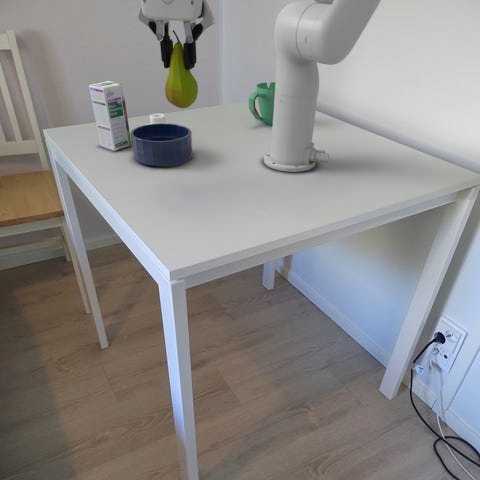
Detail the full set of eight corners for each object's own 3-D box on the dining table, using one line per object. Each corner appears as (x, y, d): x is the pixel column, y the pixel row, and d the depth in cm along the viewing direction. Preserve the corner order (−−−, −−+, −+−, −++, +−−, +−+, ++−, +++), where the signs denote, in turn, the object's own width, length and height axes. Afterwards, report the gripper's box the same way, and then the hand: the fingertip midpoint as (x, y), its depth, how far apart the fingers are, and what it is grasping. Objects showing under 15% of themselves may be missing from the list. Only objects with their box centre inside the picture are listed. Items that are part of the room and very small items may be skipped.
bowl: (201, 152, 108) (200, 127, 104) (177, 171, 98) (175, 145, 94) (150, 145, 111) (148, 120, 108) (123, 163, 101) (119, 137, 97)
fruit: (203, 110, 79) (202, 32, 71) (171, 113, 77) (166, 33, 69) (192, 101, 83) (189, 27, 75) (161, 103, 81) (155, 28, 73)
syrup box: (114, 151, 107) (104, 87, 98) (99, 146, 110) (88, 83, 100) (132, 145, 111) (123, 83, 101) (117, 141, 113) (107, 79, 104)
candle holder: (184, 126, 124) (183, 110, 122) (176, 139, 115) (175, 122, 112) (143, 124, 125) (141, 108, 122) (133, 137, 116) (130, 120, 113)
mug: (268, 116, 135) (271, 80, 128) (293, 122, 130) (297, 86, 123) (237, 125, 126) (238, 88, 120) (262, 133, 121) (264, 94, 115)
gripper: (107, -74, 63) (127, 68, 75) (213, -74, 59) (216, 75, 71) (131, -72, 68) (146, 60, 80) (229, -72, 65) (230, 67, 77)
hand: (179, 66), depth 75 cm, fingers closed on fruit, 3 cm apart
